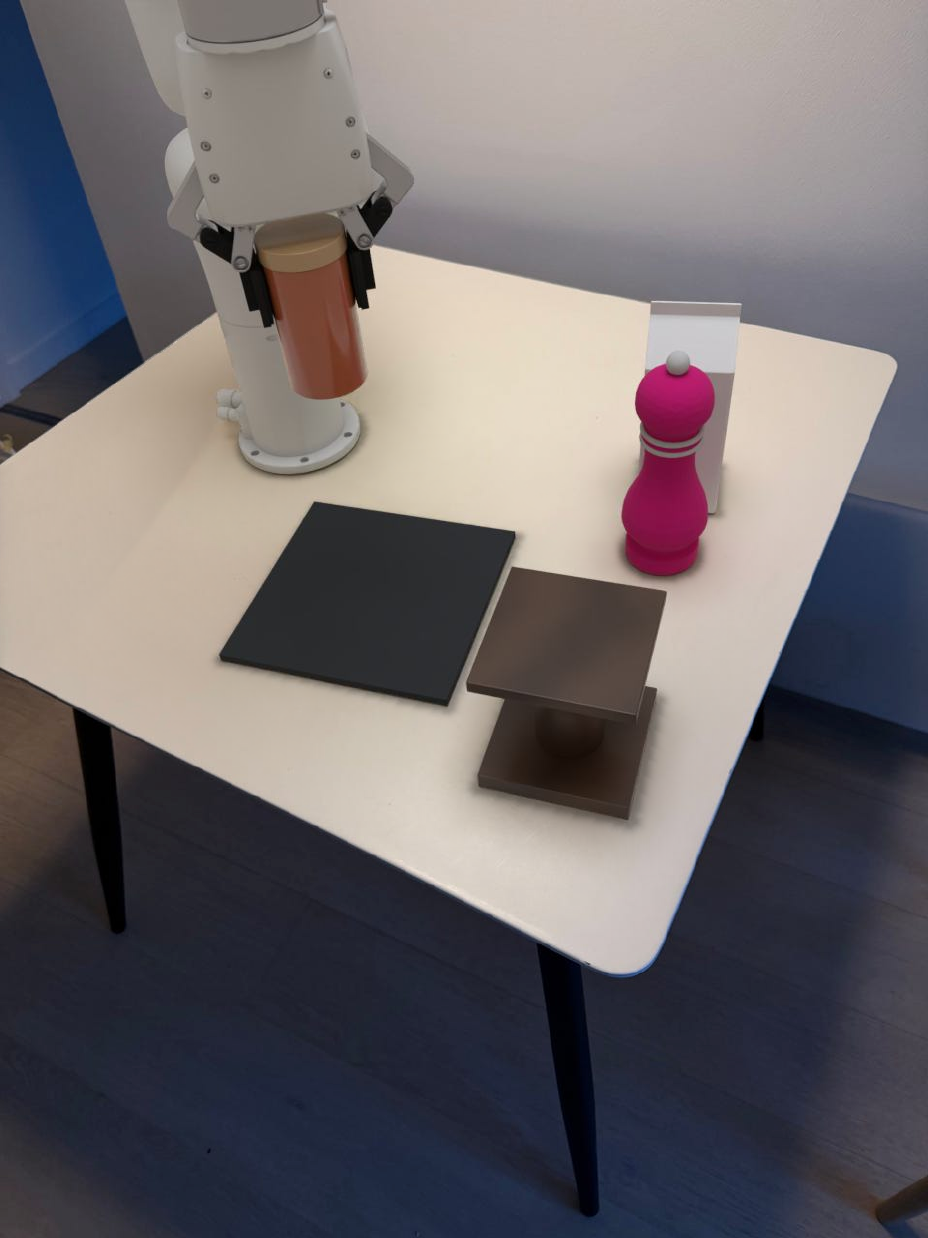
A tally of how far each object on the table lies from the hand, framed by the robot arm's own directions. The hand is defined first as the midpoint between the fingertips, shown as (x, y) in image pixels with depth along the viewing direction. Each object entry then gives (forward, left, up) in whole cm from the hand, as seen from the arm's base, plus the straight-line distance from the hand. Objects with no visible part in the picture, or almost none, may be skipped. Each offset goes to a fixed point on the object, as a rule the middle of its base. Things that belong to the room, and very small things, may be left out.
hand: (314, 305), depth 66 cm
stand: (+20, -11, -28) cm, 36 cm away
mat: (0, 0, -28) cm, 28 cm away
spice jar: (0, 0, -6) cm, 6 cm away
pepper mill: (+23, +11, -28) cm, 38 cm away
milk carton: (+23, +20, -28) cm, 41 cm away
